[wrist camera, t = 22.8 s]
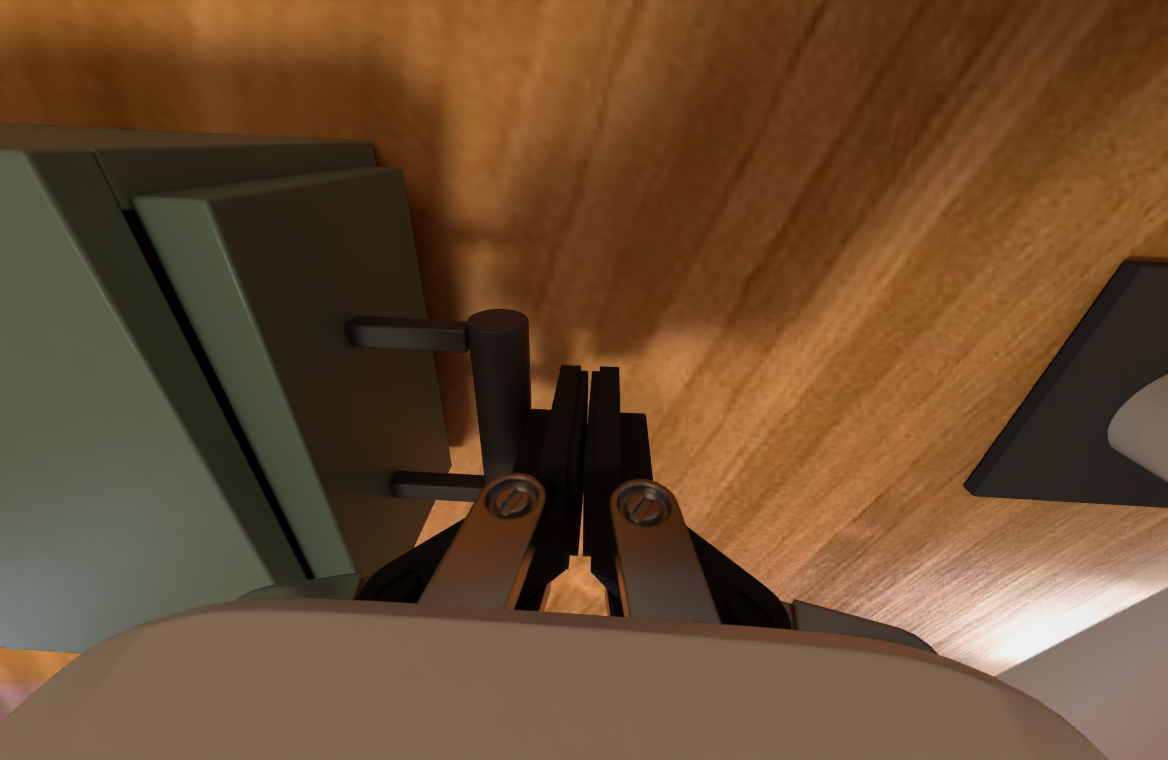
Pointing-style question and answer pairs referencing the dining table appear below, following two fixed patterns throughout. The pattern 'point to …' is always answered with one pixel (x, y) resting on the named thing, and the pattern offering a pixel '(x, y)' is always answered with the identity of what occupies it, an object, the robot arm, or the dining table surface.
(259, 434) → the drawer
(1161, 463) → the cylinder
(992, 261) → the dining table surface
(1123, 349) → the mat
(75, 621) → the cabinet
